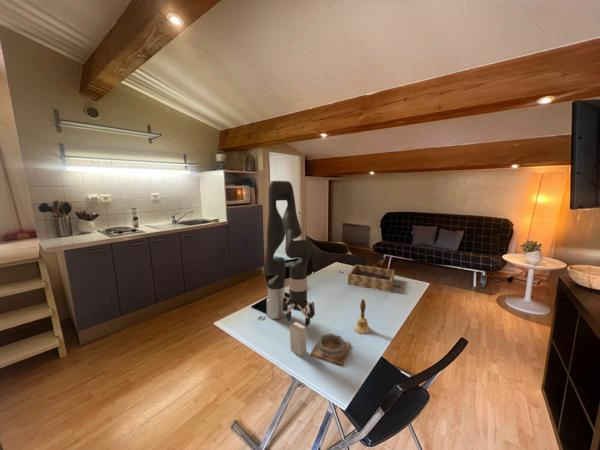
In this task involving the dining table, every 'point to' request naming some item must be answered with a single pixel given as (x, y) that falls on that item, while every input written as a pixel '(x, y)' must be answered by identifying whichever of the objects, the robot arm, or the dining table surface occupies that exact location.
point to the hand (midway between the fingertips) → (298, 322)
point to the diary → (372, 275)
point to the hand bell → (362, 321)
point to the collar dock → (331, 349)
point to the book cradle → (370, 281)
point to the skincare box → (298, 338)
